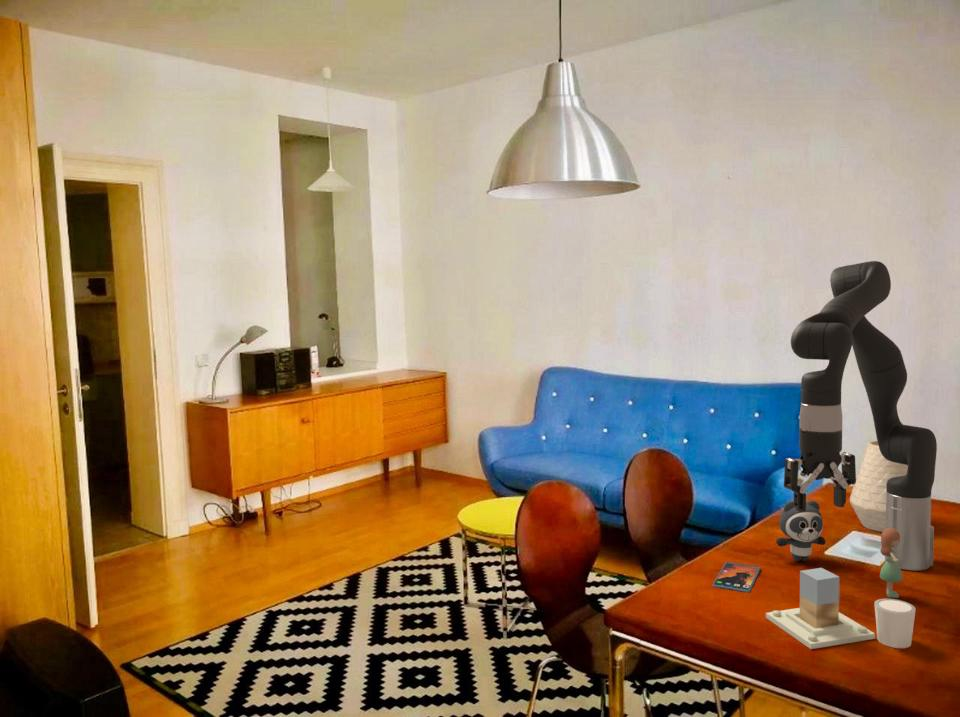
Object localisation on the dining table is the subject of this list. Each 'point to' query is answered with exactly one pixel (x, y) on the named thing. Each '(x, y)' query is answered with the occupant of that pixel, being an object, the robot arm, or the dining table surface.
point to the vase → (874, 487)
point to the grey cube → (819, 586)
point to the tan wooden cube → (819, 613)
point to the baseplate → (819, 629)
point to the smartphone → (737, 577)
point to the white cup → (894, 622)
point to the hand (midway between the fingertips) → (819, 508)
